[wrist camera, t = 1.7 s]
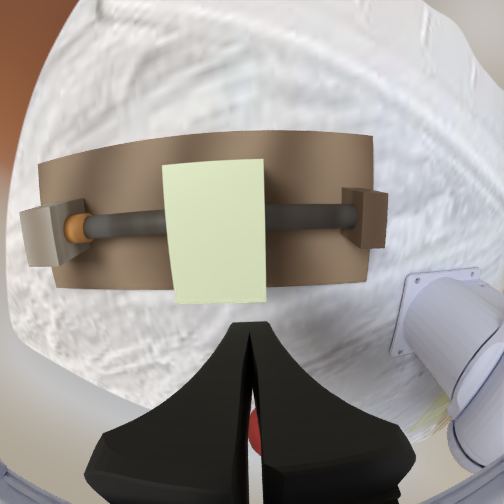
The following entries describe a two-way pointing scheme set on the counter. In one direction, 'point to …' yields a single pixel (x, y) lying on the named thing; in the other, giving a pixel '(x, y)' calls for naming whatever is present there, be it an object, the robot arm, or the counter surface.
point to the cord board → (154, 221)
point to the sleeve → (216, 230)
